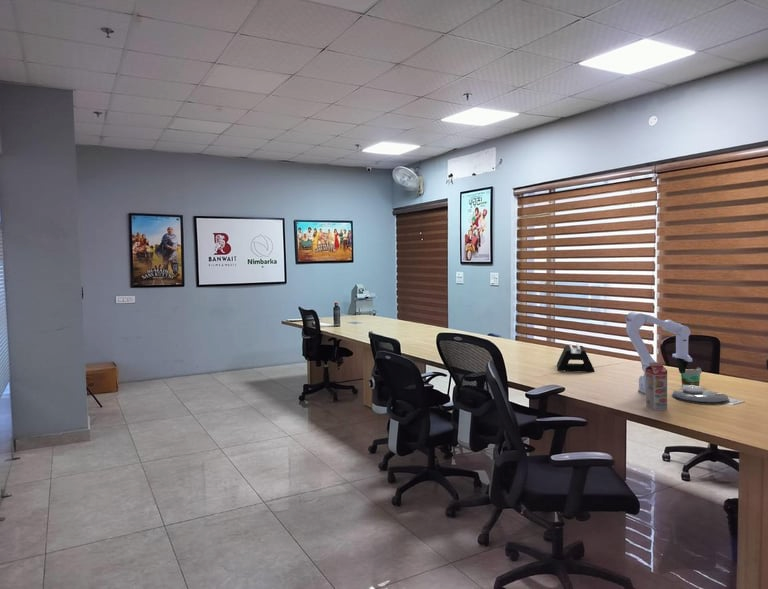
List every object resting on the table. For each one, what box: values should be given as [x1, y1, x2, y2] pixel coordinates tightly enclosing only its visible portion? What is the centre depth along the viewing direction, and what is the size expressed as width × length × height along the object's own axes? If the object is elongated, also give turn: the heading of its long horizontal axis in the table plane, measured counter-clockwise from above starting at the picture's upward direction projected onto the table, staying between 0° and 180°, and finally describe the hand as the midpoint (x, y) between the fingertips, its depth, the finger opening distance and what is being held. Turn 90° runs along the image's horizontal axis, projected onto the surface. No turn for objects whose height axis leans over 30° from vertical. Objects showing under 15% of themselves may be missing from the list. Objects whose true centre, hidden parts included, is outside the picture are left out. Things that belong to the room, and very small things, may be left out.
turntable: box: [672, 388, 729, 403], centre depth 267 cm, size 24×24×1 cm
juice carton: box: [645, 361, 668, 411], centre depth 250 cm, size 7×7×22 cm
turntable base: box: [671, 393, 730, 406], centre depth 267 cm, size 25×25×1 cm
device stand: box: [556, 343, 596, 373], centre depth 352 cm, size 22×22×15 cm
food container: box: [680, 367, 703, 388], centre depth 291 cm, size 12×6×10 cm, turn 105°
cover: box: [682, 385, 704, 394], centre depth 273 cm, size 9×9×3 cm
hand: (682, 372), depth 282 cm, fingers closed
